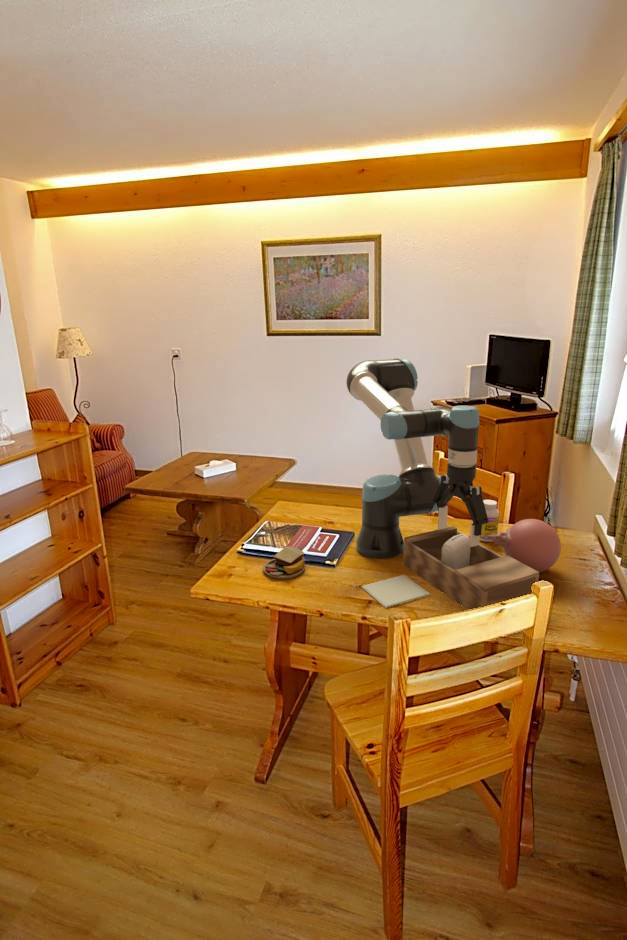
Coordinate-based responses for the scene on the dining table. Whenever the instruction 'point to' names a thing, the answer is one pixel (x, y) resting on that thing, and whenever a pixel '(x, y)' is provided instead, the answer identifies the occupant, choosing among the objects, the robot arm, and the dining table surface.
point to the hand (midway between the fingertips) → (457, 536)
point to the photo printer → (456, 552)
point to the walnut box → (468, 571)
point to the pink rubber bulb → (530, 543)
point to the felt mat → (395, 591)
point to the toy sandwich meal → (286, 563)
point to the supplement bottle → (490, 521)
